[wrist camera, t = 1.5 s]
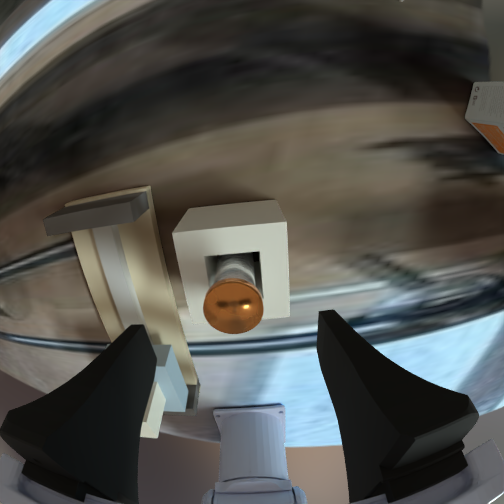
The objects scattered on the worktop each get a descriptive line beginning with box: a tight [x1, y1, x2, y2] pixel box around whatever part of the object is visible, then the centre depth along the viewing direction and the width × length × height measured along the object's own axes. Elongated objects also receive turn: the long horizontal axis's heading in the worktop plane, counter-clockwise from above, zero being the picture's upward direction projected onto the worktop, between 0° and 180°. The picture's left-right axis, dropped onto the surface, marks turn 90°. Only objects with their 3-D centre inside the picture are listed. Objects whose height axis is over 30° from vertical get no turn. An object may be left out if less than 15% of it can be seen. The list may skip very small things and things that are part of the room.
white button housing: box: [172, 200, 290, 324], centre depth 18 cm, size 6×6×5 cm
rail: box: [43, 185, 200, 416], centre depth 21 cm, size 20×7×4 cm, turn 5°
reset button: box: [203, 252, 264, 334], centre depth 16 cm, size 3×3×6 cm
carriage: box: [105, 344, 188, 438], centre depth 19 cm, size 6×6×6 cm
